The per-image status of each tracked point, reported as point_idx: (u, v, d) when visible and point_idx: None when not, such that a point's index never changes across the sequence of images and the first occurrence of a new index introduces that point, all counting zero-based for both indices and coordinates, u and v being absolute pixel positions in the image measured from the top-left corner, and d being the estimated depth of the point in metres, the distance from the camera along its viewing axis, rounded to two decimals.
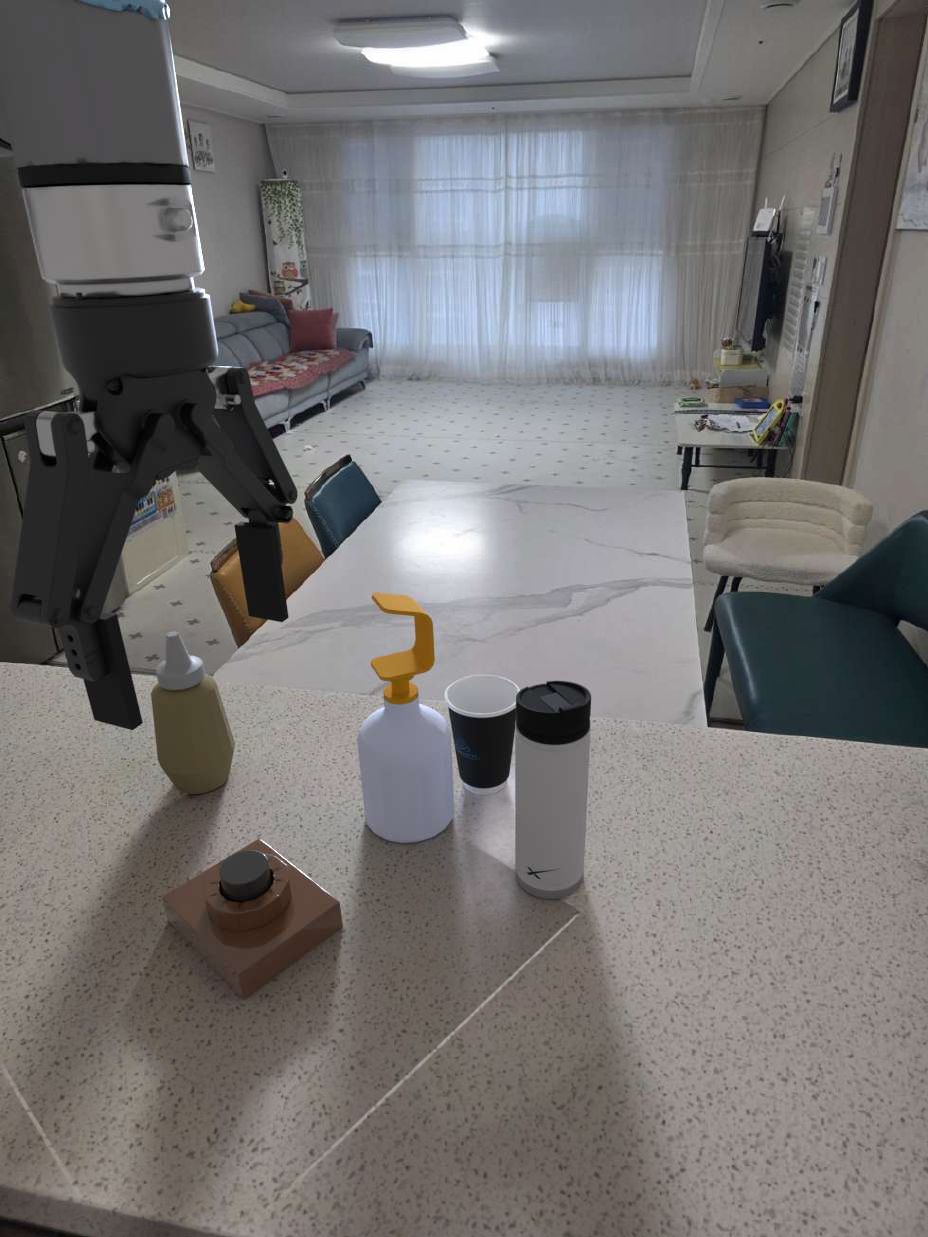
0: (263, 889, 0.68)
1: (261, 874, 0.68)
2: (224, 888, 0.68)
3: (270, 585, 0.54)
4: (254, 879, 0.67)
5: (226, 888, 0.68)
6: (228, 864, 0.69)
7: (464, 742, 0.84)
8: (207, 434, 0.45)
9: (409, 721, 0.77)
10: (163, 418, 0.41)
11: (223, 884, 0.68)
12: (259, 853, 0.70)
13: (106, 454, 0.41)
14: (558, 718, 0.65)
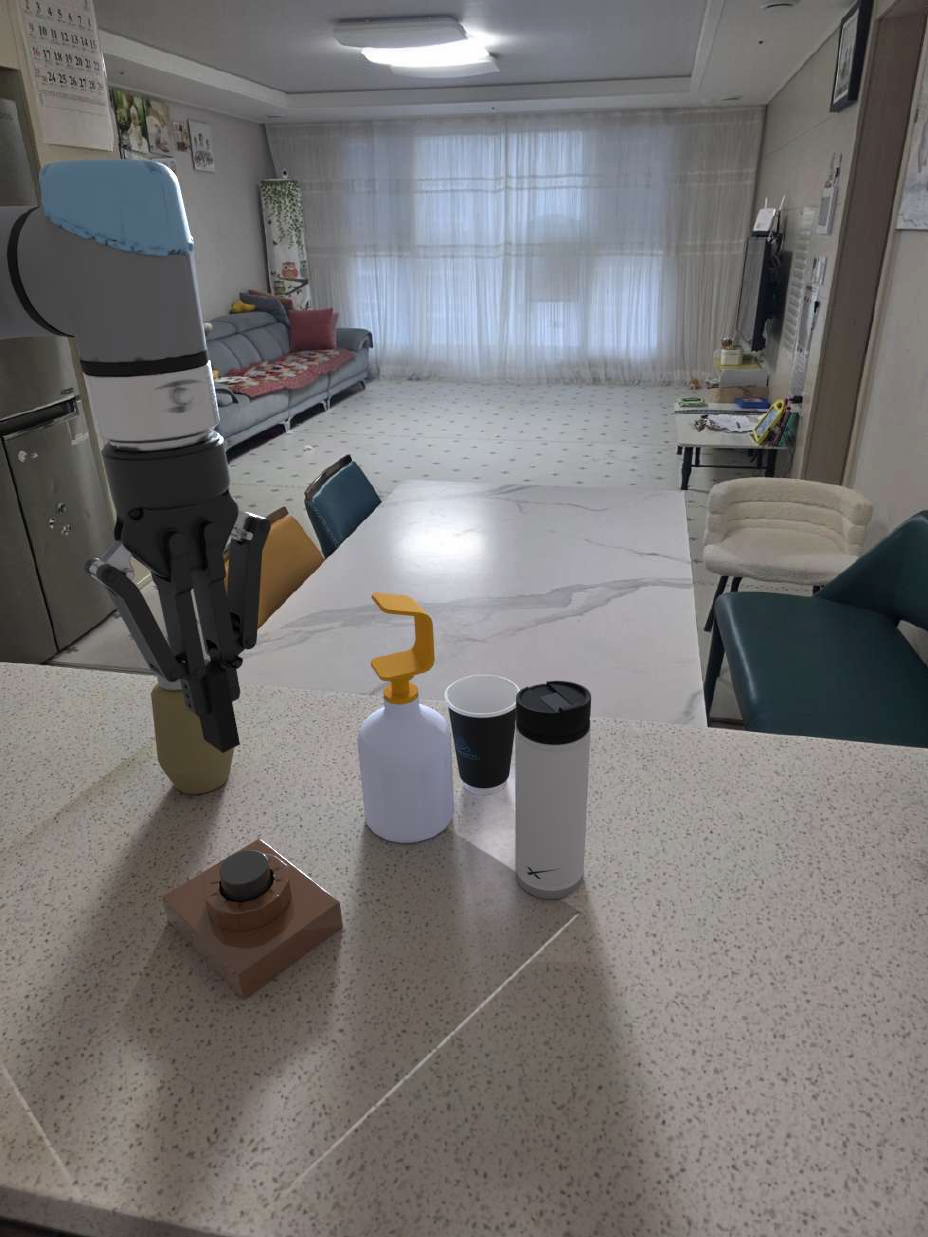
0: (263, 889, 0.68)
1: (261, 874, 0.68)
2: (224, 888, 0.68)
3: None
4: (254, 879, 0.67)
5: (226, 888, 0.68)
6: (228, 864, 0.69)
7: (464, 742, 0.84)
8: (221, 544, 0.56)
9: (409, 721, 0.77)
10: (175, 536, 0.53)
11: (223, 884, 0.68)
12: (259, 853, 0.70)
13: (136, 558, 0.54)
14: (558, 718, 0.65)
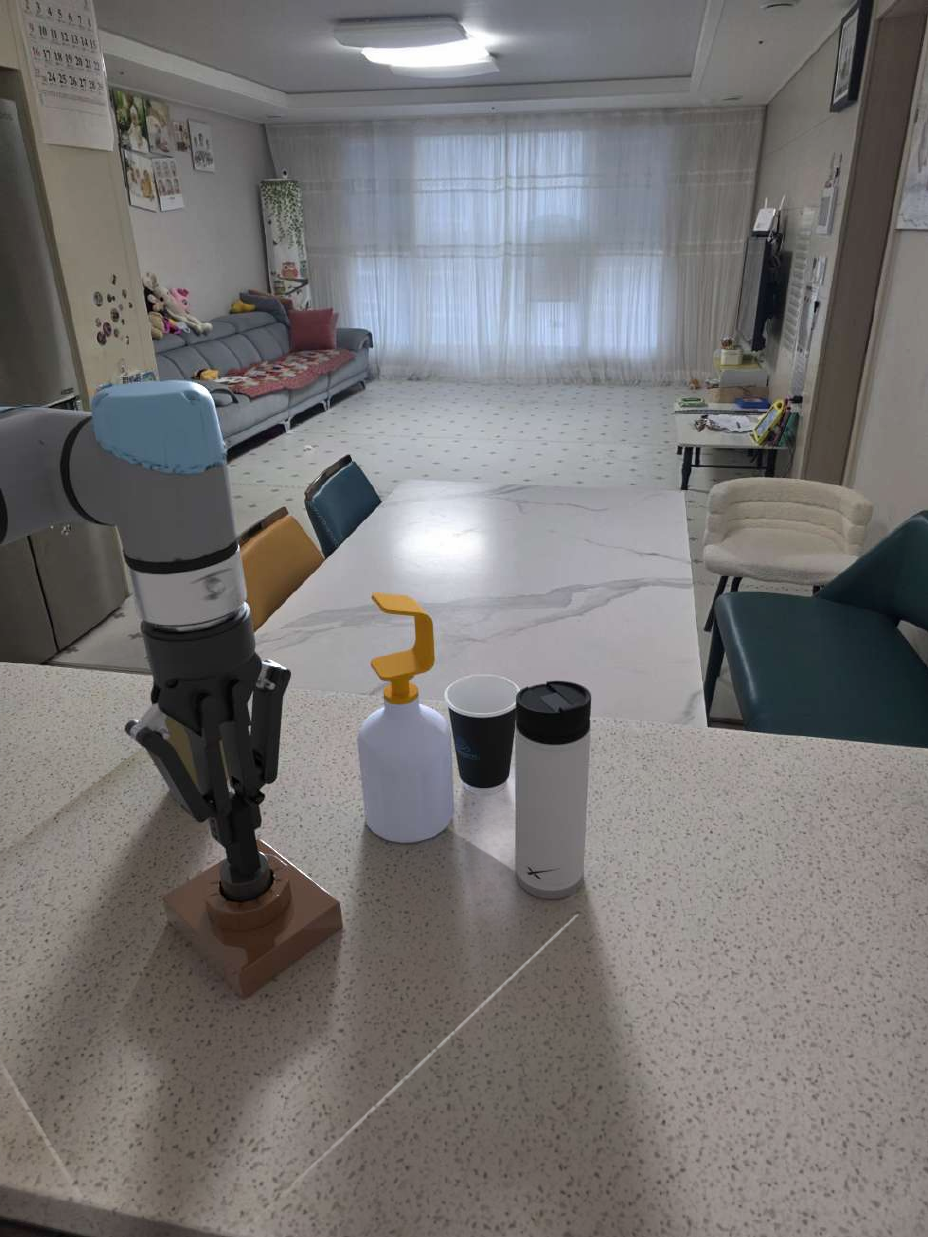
0: (263, 889, 0.68)
1: (261, 874, 0.68)
2: (224, 888, 0.68)
3: None
4: (254, 879, 0.67)
5: (226, 888, 0.68)
6: (228, 864, 0.69)
7: (464, 742, 0.84)
8: (246, 699, 0.62)
9: (409, 721, 0.77)
10: (206, 699, 0.59)
11: (223, 884, 0.68)
12: (259, 853, 0.70)
13: None
14: (558, 718, 0.65)
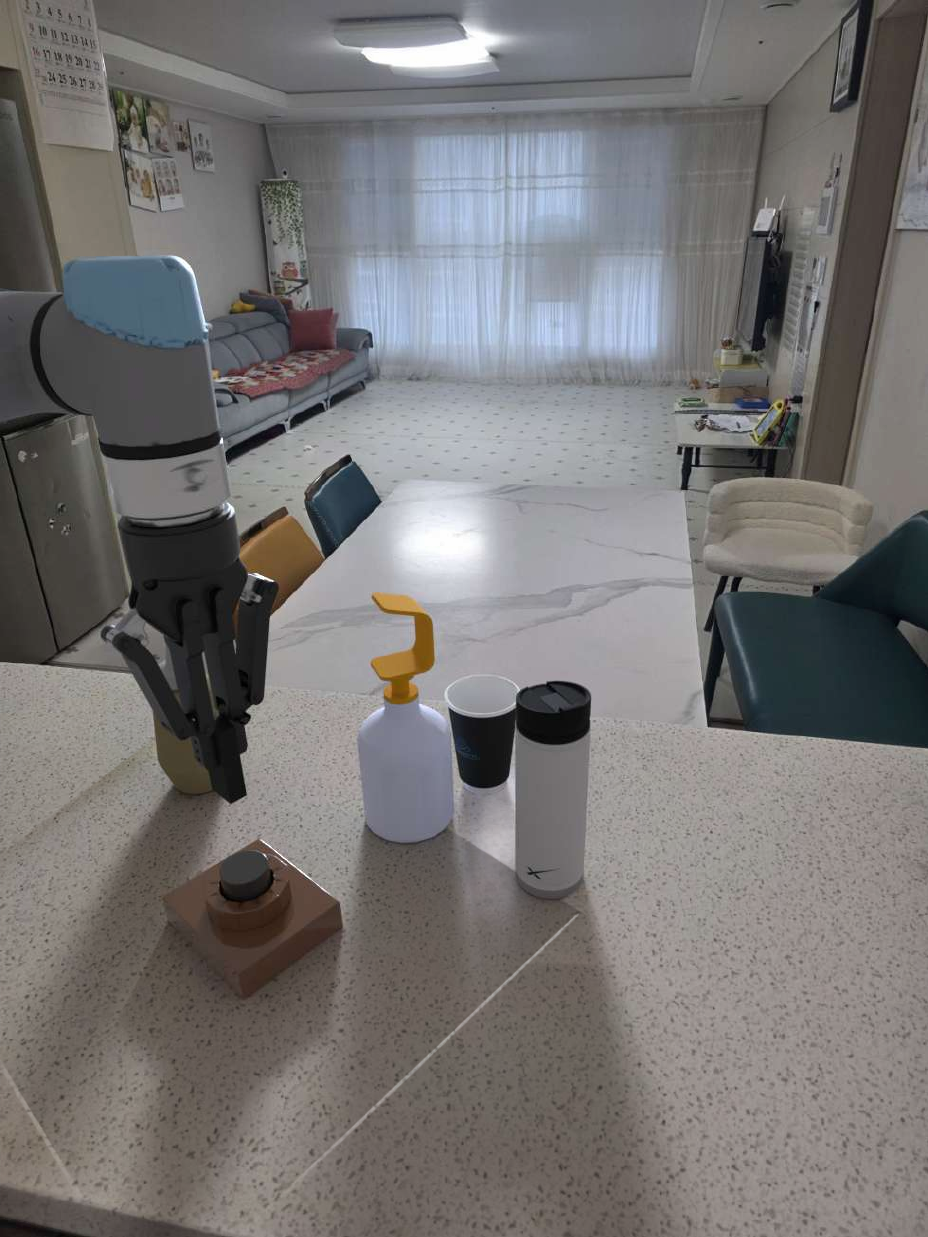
0: (263, 889, 0.68)
1: (261, 874, 0.68)
2: (224, 888, 0.68)
3: None
4: (254, 879, 0.67)
5: (226, 888, 0.68)
6: (228, 864, 0.69)
7: (464, 742, 0.84)
8: (231, 609, 0.58)
9: (409, 721, 0.77)
10: (187, 605, 0.55)
11: (223, 884, 0.68)
12: (259, 853, 0.70)
13: (149, 624, 0.56)
14: (558, 718, 0.65)
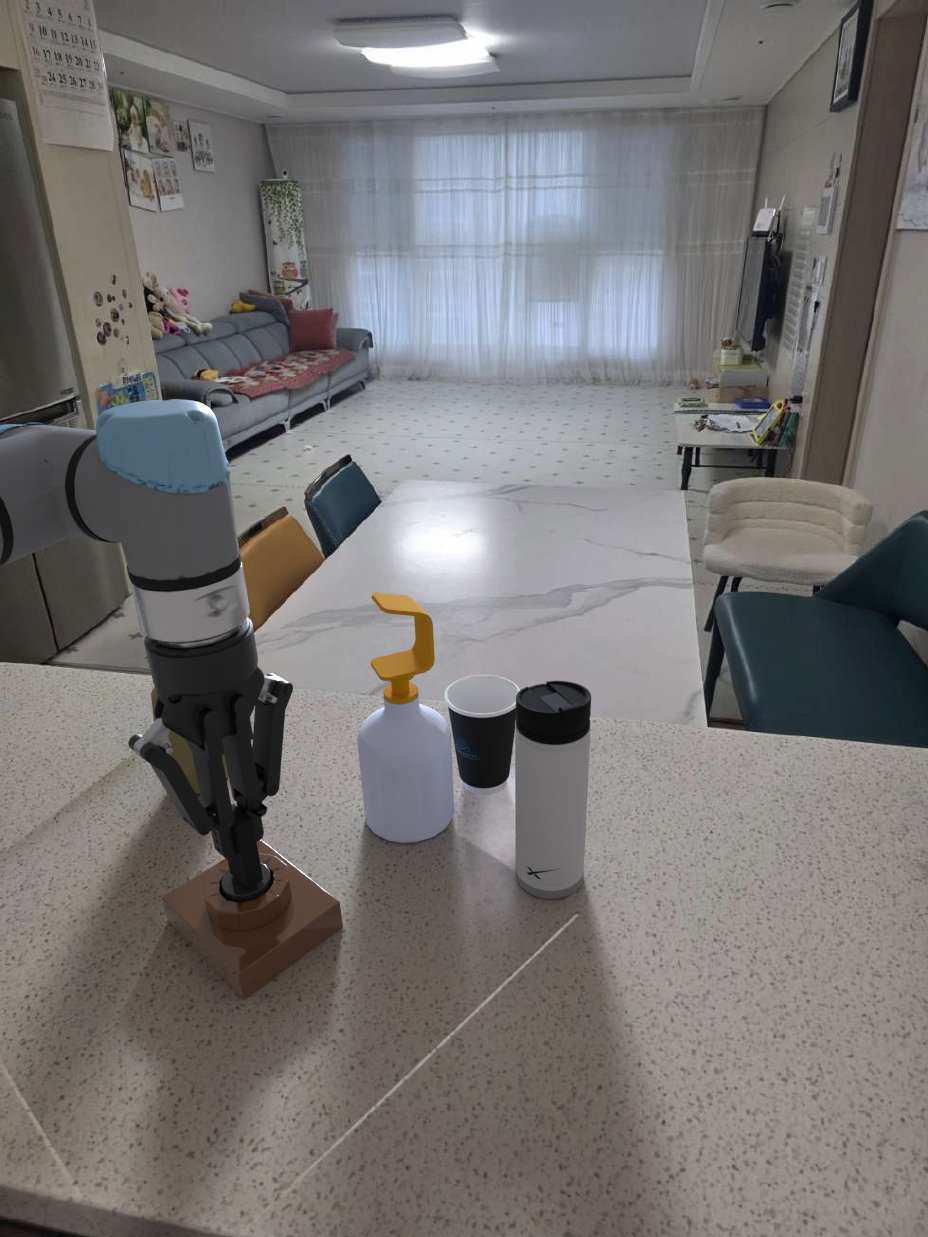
0: None
1: (263, 885, 0.68)
2: (226, 899, 0.68)
3: None
4: (256, 891, 0.68)
5: (229, 899, 0.68)
6: (230, 875, 0.70)
7: (464, 742, 0.84)
8: (249, 713, 0.62)
9: (409, 721, 0.77)
10: (209, 714, 0.59)
11: (225, 895, 0.68)
12: (261, 864, 0.71)
13: None
14: (558, 718, 0.65)
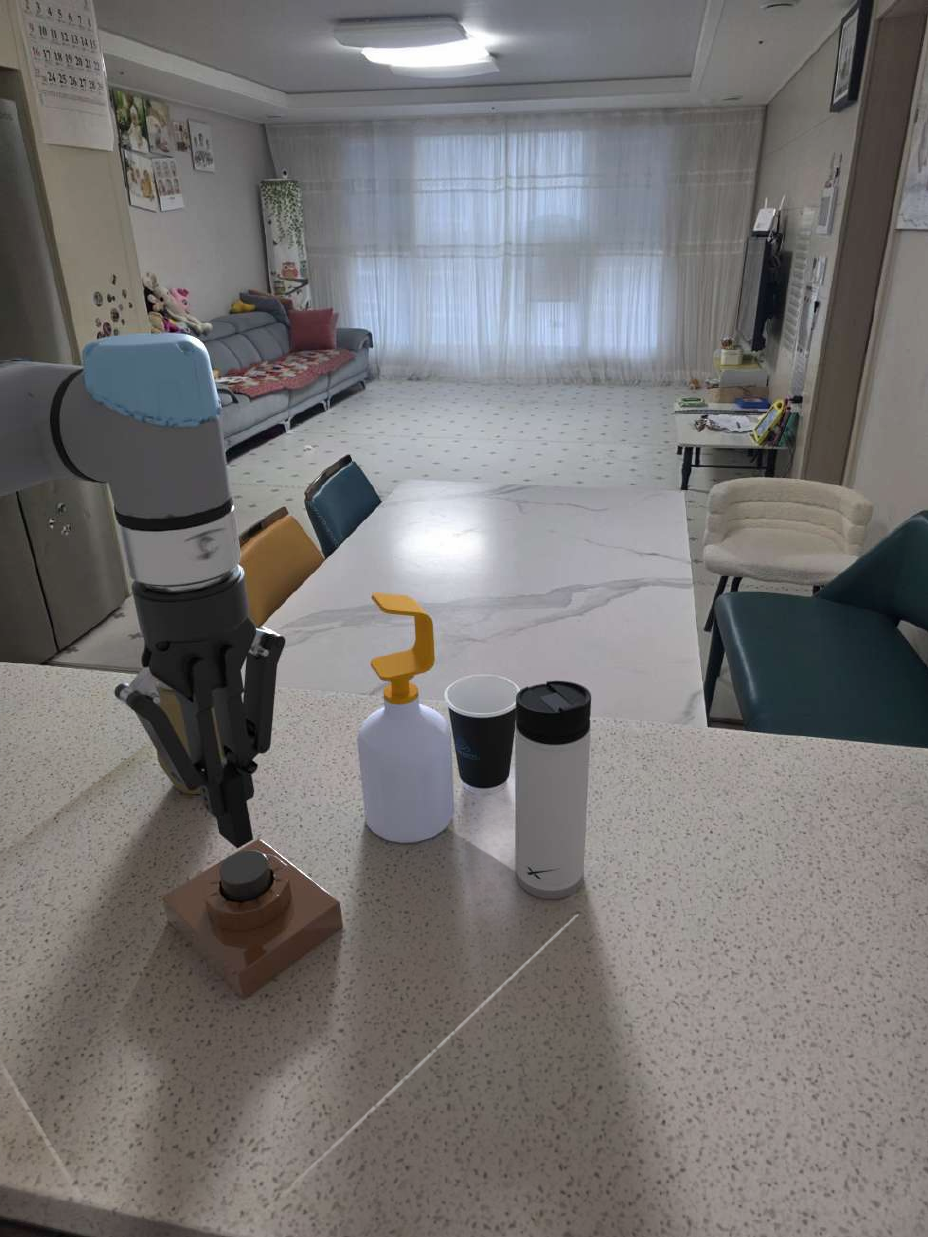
0: (263, 889, 0.68)
1: (261, 874, 0.68)
2: (224, 888, 0.68)
3: None
4: (254, 879, 0.67)
5: (226, 888, 0.68)
6: (228, 864, 0.69)
7: (464, 742, 0.84)
8: (240, 665, 0.60)
9: (409, 721, 0.77)
10: (198, 663, 0.57)
11: (223, 884, 0.68)
12: (259, 853, 0.70)
13: None
14: (558, 718, 0.65)
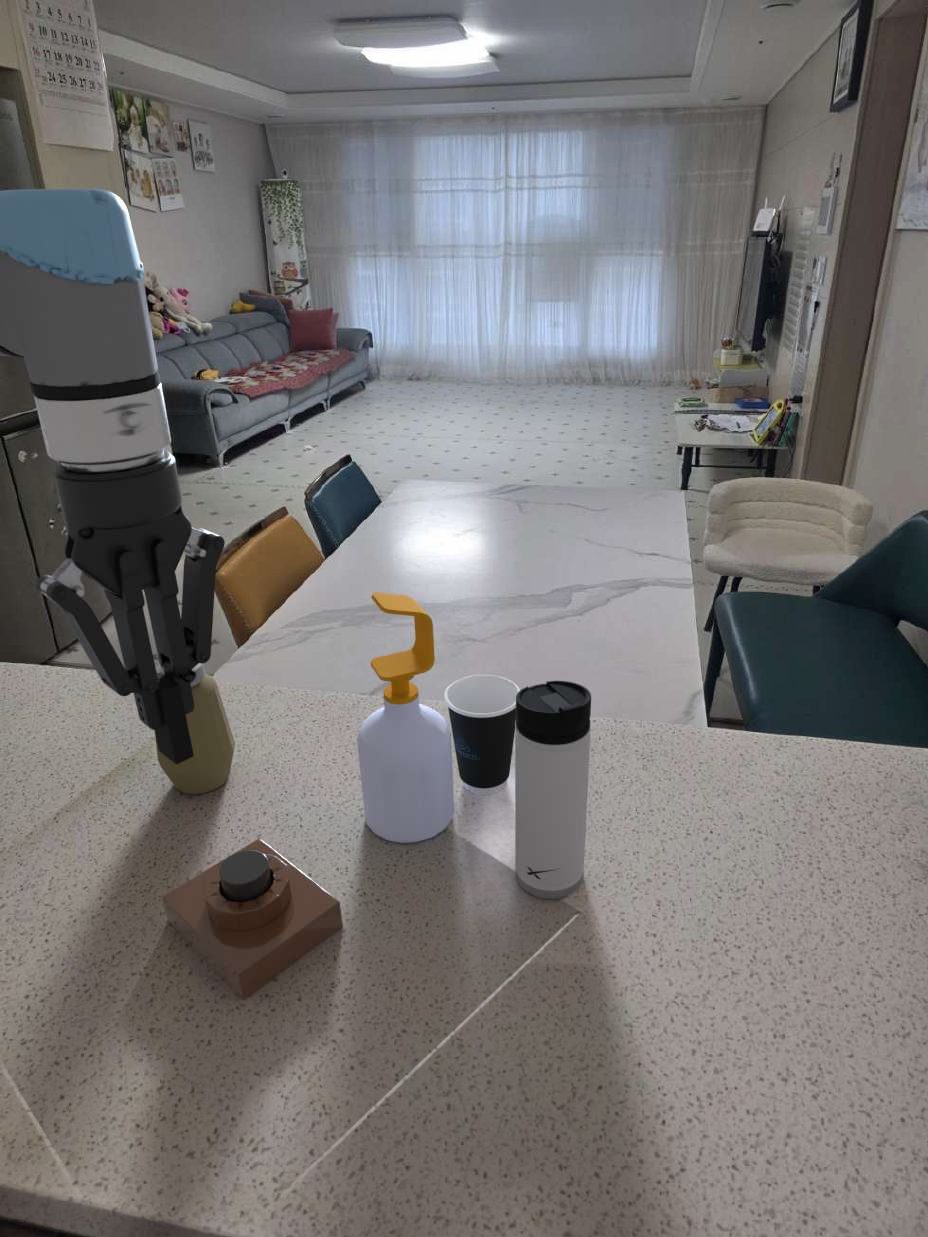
0: (263, 889, 0.68)
1: (261, 874, 0.68)
2: (224, 888, 0.68)
3: None
4: (254, 879, 0.67)
5: (226, 888, 0.68)
6: (228, 864, 0.69)
7: (464, 742, 0.84)
8: (173, 562, 0.57)
9: (409, 721, 0.77)
10: (125, 555, 0.54)
11: (223, 884, 0.68)
12: (259, 853, 0.70)
13: (87, 575, 0.55)
14: (558, 718, 0.65)
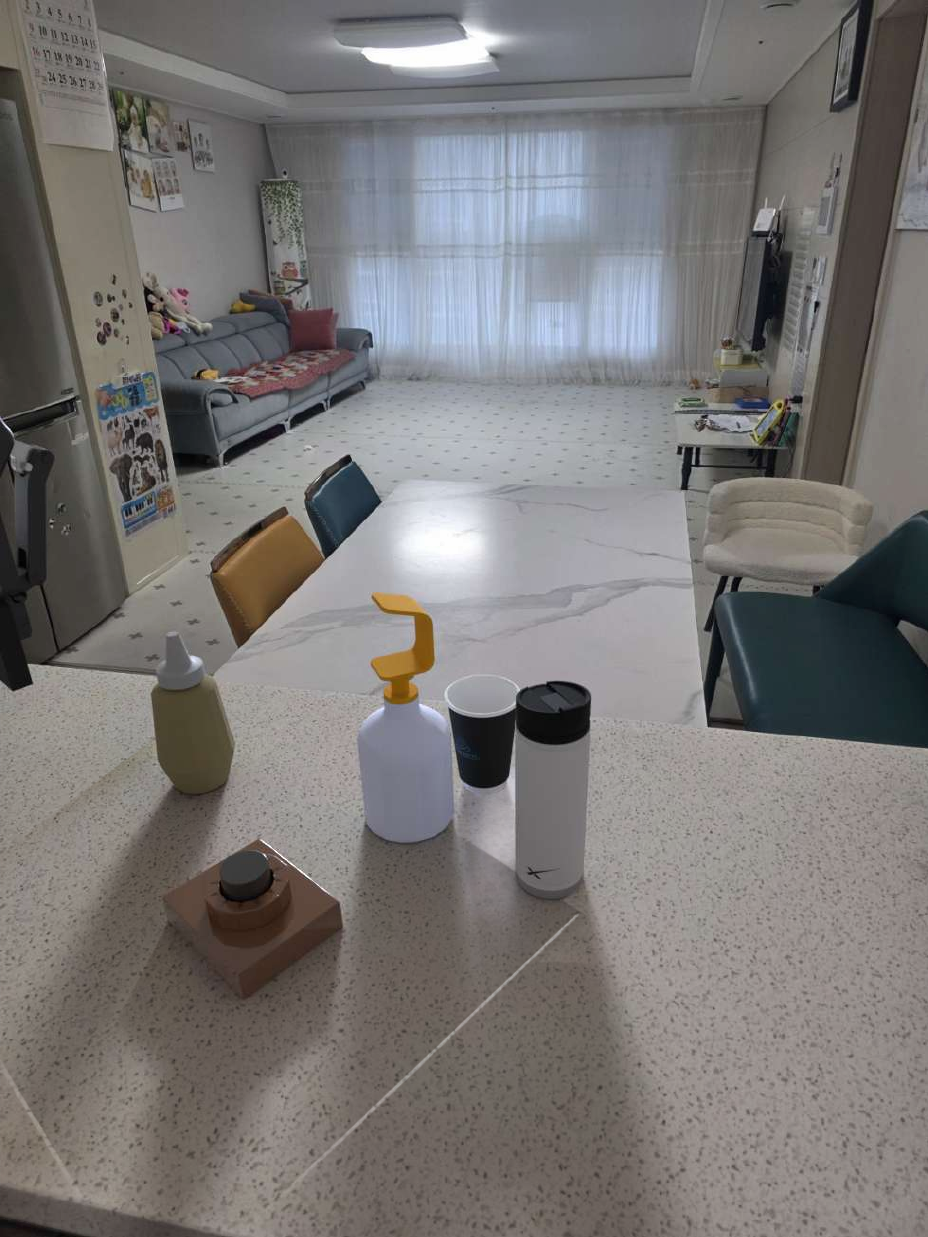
0: (263, 889, 0.68)
1: (261, 874, 0.68)
2: (224, 888, 0.68)
3: None
4: (254, 879, 0.67)
5: (226, 888, 0.68)
6: (228, 864, 0.69)
7: (464, 742, 0.84)
8: None
9: (409, 721, 0.77)
10: None
11: (223, 884, 0.68)
12: (259, 853, 0.70)
13: None
14: (558, 718, 0.65)
